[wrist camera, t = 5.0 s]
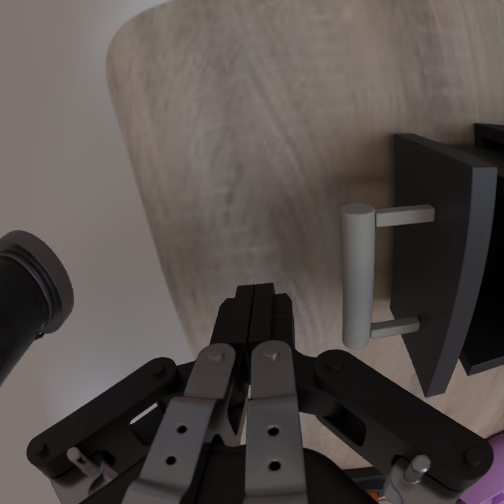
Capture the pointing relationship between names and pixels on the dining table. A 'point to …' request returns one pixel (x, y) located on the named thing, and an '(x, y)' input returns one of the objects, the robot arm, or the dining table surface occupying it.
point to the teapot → (489, 478)
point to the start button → (374, 495)
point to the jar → (384, 502)
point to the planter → (460, 502)
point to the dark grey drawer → (433, 260)
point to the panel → (368, 479)
